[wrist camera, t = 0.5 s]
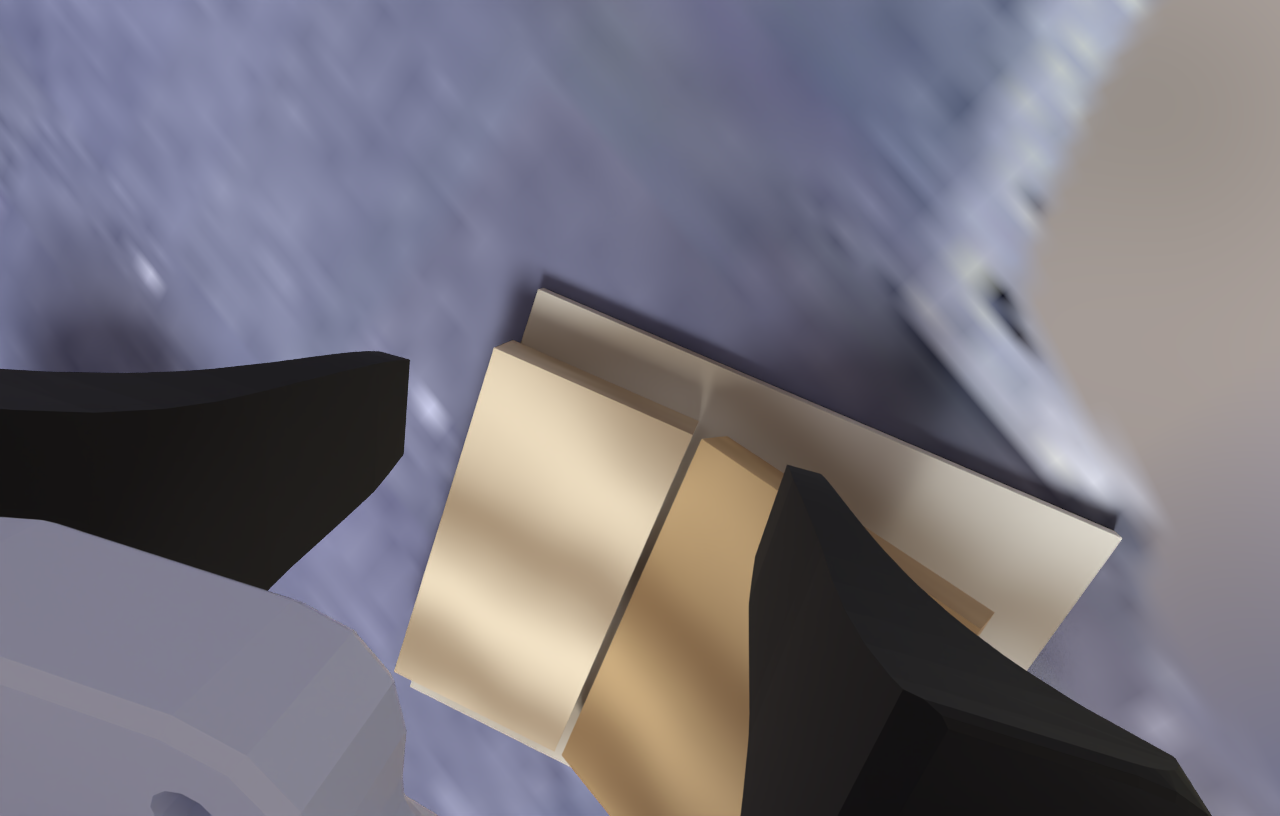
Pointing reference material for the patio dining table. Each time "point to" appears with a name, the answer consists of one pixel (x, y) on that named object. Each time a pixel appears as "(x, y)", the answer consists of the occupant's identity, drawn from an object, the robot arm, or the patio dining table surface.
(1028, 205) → the patio dining table surface
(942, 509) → the floor section
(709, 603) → the plank
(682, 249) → the patio dining table surface
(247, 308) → the patio dining table surface
